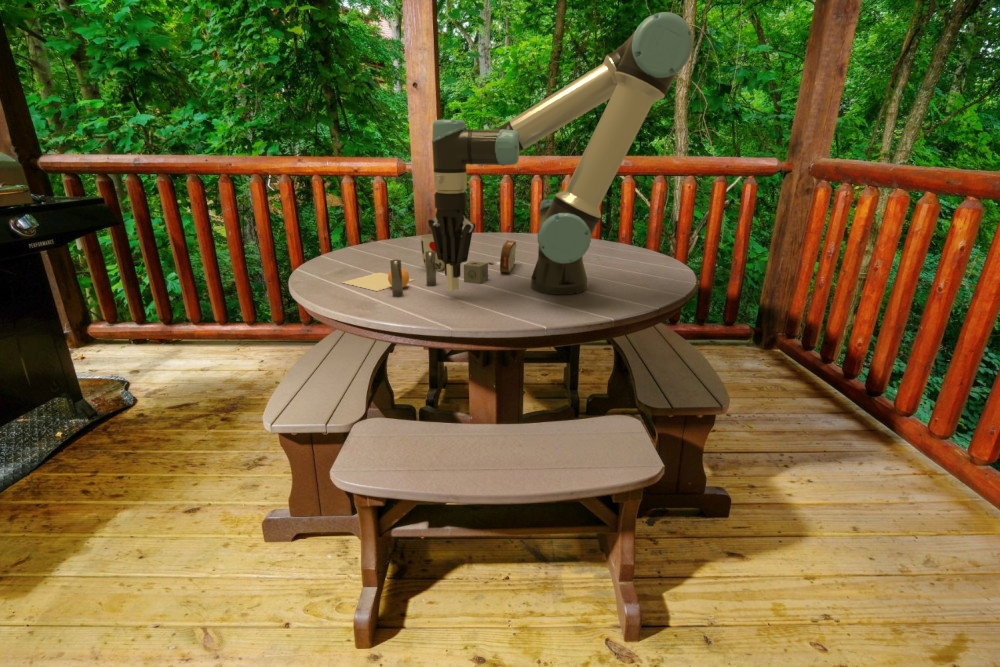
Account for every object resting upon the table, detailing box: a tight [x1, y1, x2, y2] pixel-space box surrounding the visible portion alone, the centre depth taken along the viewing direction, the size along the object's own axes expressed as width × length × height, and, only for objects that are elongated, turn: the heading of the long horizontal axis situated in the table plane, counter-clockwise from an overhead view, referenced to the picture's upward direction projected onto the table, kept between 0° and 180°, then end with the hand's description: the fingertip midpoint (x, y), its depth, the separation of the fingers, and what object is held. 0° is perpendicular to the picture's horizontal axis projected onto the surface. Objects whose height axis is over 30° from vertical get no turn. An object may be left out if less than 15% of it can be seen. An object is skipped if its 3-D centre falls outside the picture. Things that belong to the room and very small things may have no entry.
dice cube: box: [463, 260, 489, 285], centre depth 147 cm, size 5×5×5 cm
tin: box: [499, 240, 517, 274], centre depth 158 cm, size 15×3×8 cm, turn 170°
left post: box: [389, 259, 404, 298], centre depth 132 cm, size 3×3×9 cm
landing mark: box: [341, 271, 415, 292], centre depth 146 cm, size 14×14×1 cm
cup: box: [419, 233, 445, 272], centre depth 158 cm, size 8×8×10 cm
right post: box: [425, 251, 437, 287], centre depth 142 cm, size 3×3×9 cm
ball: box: [388, 267, 410, 288], centre depth 139 cm, size 6×6×6 cm
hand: (453, 289), depth 131 cm, fingers closed
